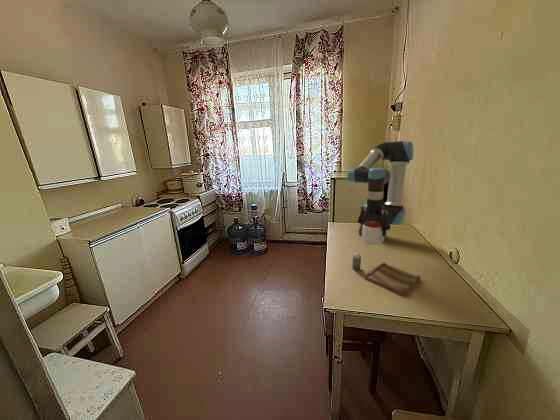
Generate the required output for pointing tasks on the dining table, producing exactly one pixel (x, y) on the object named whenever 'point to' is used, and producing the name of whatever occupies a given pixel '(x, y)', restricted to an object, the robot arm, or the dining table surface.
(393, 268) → the board
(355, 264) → the shaker
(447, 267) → the dining table surface
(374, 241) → the cup
